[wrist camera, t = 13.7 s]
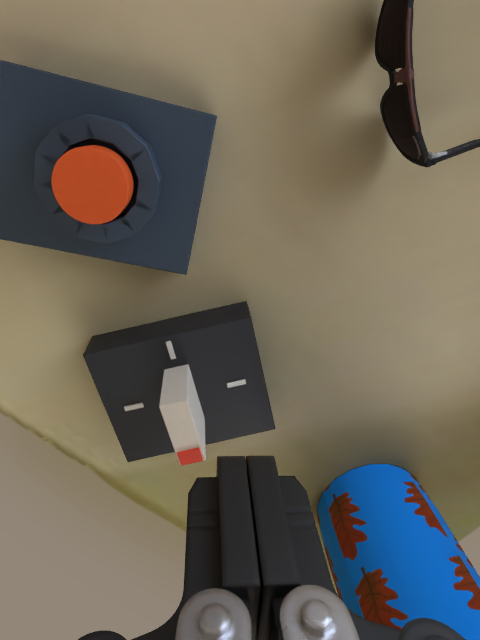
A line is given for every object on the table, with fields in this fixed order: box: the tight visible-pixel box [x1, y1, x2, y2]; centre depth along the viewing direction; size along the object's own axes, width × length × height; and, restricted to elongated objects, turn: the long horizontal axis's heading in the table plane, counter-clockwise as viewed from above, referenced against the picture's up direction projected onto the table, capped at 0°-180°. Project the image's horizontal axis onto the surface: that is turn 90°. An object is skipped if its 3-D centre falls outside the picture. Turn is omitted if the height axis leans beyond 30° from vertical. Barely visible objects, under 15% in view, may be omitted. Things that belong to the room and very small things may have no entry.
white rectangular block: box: [159, 364, 206, 466], centre depth 30 cm, size 5×2×5 cm, turn 12°
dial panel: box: [83, 301, 275, 462], centre depth 33 cm, size 12×10×3 cm
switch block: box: [0, 60, 217, 275], centre depth 27 cm, size 12×10×4 cm
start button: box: [51, 145, 134, 224], centre depth 24 cm, size 4×4×2 cm
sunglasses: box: [375, 0, 480, 167], centre depth 26 cm, size 10×12×5 cm
